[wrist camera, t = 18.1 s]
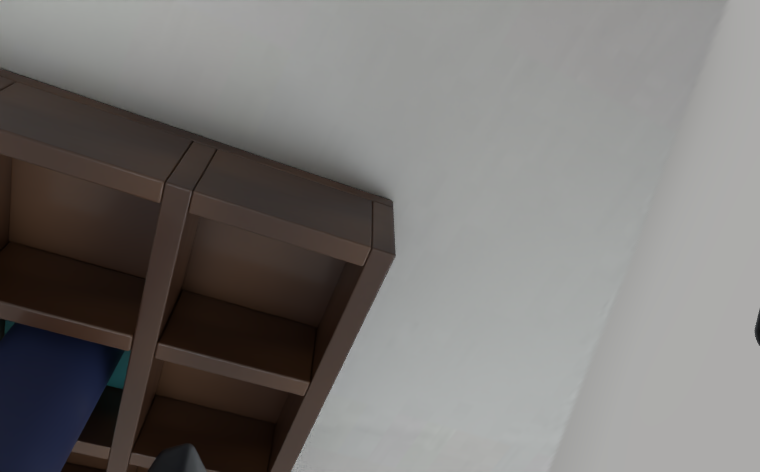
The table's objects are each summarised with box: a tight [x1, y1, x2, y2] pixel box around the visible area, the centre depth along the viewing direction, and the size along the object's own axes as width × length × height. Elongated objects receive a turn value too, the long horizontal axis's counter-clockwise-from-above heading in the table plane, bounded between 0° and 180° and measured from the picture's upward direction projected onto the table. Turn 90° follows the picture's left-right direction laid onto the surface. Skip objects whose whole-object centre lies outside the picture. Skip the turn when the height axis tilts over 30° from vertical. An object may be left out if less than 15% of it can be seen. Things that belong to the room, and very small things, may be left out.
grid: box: [0, 69, 396, 472], centre depth 22 cm, size 20×20×4 cm
